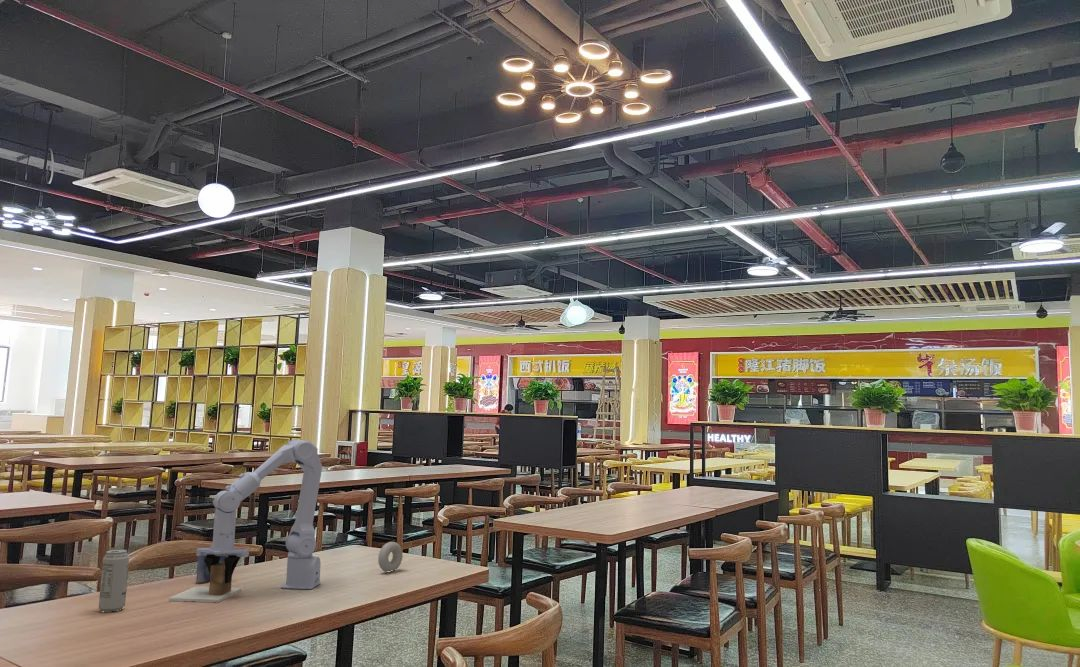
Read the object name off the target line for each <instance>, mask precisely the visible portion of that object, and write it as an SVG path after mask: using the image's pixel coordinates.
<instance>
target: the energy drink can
mask: <svg viewBox="0 0 1080 667" xmlns="http://www.w3.org/2000/svg"><path fill="white" fill-rule="evenodd" d="M129 564H130V556H129V554H128V550H127V549H110V550H107V551H105V555H104V556H103V558H102V564H101V577H100V587H99V589H100V590H99V600H98V609H99V610H100V612H101V611H104V612H110V613H112V612H111V611H117V610H120V609H122V608H123V609H124V607H125V606H126V602H127V601H126V599H127V589H128V588H127V586H128V577H129V576H128V575H129V566H130V565H129ZM123 609H122V610H123ZM104 612H103V613H104ZM117 612H118V611H117Z"/></svg>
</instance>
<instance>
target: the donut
mask: <svg viewBox="0 0 1080 667" xmlns="http://www.w3.org/2000/svg"><path fill="white" fill-rule="evenodd" d="M391 553H392V558H391V560H389V557H390V554H391ZM377 559H378V565H379V568H380V569H381V570H382V571H383V572H385V571H391V570H395V569H396V570H398V568H399V567H400V565H401V564H402V561H403V550H402V547H401V545H400V544H399V543H398V542H396V541H388V542H385V544H383V545H382V547H381V548H380V550H379V553H378V557H377ZM396 570H395V571H396Z"/></svg>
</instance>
